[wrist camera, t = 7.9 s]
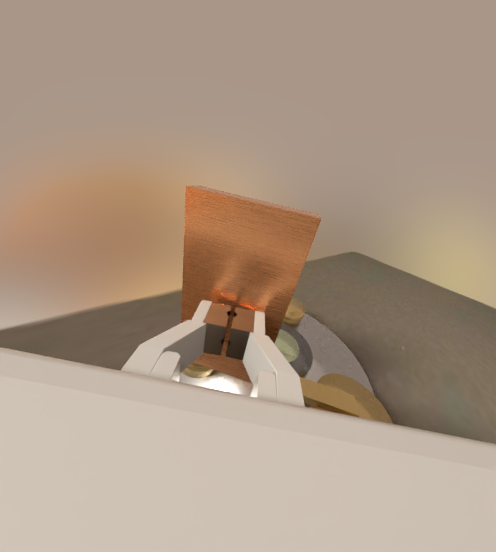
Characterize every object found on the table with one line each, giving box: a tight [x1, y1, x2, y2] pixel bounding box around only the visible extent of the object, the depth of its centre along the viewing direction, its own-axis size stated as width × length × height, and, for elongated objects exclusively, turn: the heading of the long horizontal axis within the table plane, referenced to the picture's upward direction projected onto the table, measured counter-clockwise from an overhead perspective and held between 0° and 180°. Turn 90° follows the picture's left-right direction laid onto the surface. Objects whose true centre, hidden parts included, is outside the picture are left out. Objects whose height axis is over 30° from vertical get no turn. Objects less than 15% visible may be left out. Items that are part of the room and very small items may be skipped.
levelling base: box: [179, 298, 375, 407], centre depth 16 cm, size 17×17×3 cm
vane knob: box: [181, 186, 393, 424], centre depth 10 cm, size 14×5×12 cm, turn 75°
